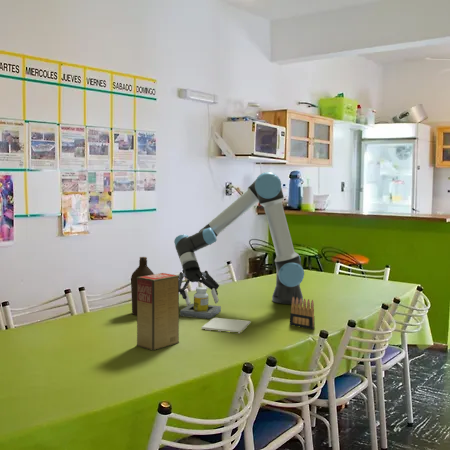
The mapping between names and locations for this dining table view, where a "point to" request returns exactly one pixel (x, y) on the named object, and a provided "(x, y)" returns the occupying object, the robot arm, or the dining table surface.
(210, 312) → the metal collar
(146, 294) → the food packaging
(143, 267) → the olive oil
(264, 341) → the dining table surface
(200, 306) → the pill bottle
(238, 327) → the cream tile
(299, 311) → the ammunition clip
